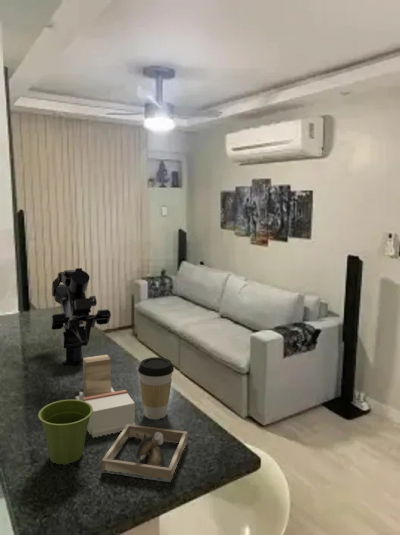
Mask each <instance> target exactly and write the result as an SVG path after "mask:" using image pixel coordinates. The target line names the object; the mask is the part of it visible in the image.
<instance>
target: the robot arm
mask: <svg viewBox="0 0 400 535" xmlns="http://www.w3.org/2000/svg"><path fill="white" fill-rule="evenodd" d="M89 281H90V275H89V273H88V272H86V271H84V270H83V269H82V268H81V267H79V268H78V267H77V268H75V269H69V270H64V271H59V272H57V277H56V278H55V279H54V280H53V281H52V283H51V284H52V285H51V296H52V297H53V299H54V301H55V302H56V303H57V304H59V305H60V308H61V312H62V313H53V314H52V315H51V321H50V329H51V330H52V331H53V330H55V331H56V330H61V329H63V331H62V333H61V338H60V343H61V344H60V345H61V347H62V349H64V350H65V360H63V361H62V364H65V365H73V366H79V365H81V364H83V358H85V357H83V347H84V346H85V347H87V346H88V344H89V343H90V337H91V336H90V335H91V330H92V328H94V327H95V325H96V324H97V325H99V326H100V325H101V326H102V325H107V324H109V322H110V320H111V317H112V312H111V311H110V310H109V309H108V308H107V309H98V310H97V311H96V312H97V313H96V314H91V312H92V310H91V309H92V307H96V306H97V297H96V295H90V296H89V297H87V296H86V291H87V290H88V285H89ZM61 283H62V284H61ZM84 323H85V325H84Z"/></svg>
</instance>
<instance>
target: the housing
mask: <svg viewBox="0 0 400 535" xmlns="http://www.w3.org/2000/svg"><path fill="white" fill-rule="evenodd" d="M75 400H81V401H85V402H87V403H89V404H90V405H91V406H92V407H93V412H92V414H91V416H90V419H89V423H88V425H87V432H89V433H88V434H89V435H91V437H92V436H93V437H92V438H93V439H94V437H96V438H99V437H98V436H100V437H103V436H102V435H105V436H108V435H107V434H109V435H112V434H111V433H113V434H117V432H118V433H121V432H120V431H123V429H124V428H125V426H126V425H127V424H131V425H136V422H135V421H136V420H135V414H136V411H135V410H136V408H135V407H136V404H135V401H134V400H133V398H131V396H130V394H129V393H128V391H127V389H122V390H118V391H117V390H116V391H115V390H114V388H113V386H111V393H105V394H100V395H94V396H89V397H85V395H84V391H79V392H78V395H77V396H75Z"/></svg>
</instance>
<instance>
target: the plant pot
mask: <svg viewBox="0 0 400 535" xmlns="http://www.w3.org/2000/svg"><path fill="white" fill-rule="evenodd" d="M92 412H93V407H92V406H91V405H90V404H89V403H87V402H85V401H81V400H76V399H61V400H57V401H53V402H51V403H49V404H46V405H44V406H43V407H42V408H41V409H40V410H39V411H38V414H37V416H38V419H39V420H40V422H41V426H42V428H43V431H44V436H45V439H46V445H47V451H48V455H49V459H50V462H51V461H52V462H51V463H53V464H54V463H56V464H55V465H61V464H67V463H71V462H73V461H76V460H78V459H79V458H80V459H81V457H83V454H84V453H83V452H84V448H85V442H86V435H87V432H88V430H87V425H88V423H89V419H90V416H91V414H92ZM80 459H79V460H80ZM79 460H78V461H79ZM76 462H77V461H76Z"/></svg>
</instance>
